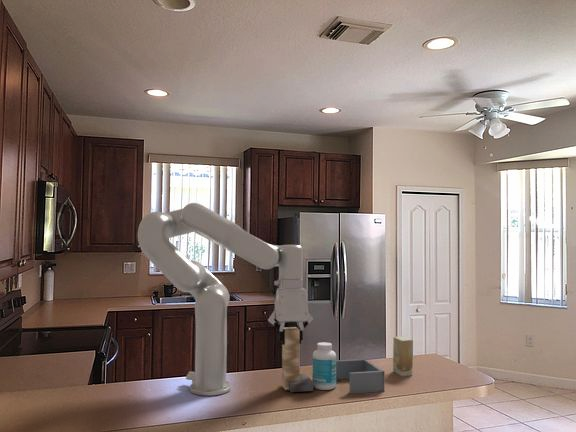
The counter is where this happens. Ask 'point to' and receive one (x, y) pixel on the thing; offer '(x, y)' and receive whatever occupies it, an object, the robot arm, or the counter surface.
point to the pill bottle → (324, 367)
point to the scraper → (293, 363)
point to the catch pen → (360, 375)
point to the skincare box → (403, 356)
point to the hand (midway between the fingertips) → (290, 342)
